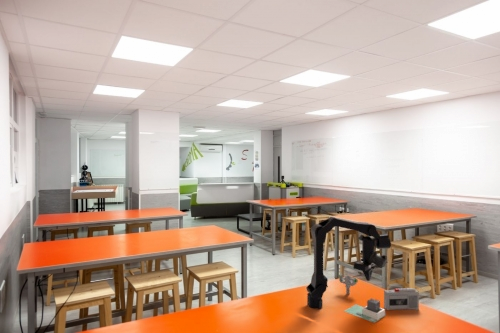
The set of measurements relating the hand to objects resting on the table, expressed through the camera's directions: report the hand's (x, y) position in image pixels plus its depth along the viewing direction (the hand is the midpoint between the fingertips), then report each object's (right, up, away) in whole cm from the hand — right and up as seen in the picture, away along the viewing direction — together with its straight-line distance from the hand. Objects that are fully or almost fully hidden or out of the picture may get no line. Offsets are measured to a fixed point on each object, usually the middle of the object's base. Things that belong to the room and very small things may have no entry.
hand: (368, 280), depth 157 cm
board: (-5, -12, -10) cm, 17 cm away
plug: (-2, -11, -12) cm, 16 cm away
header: (-2, -11, -12) cm, 16 cm away
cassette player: (+14, -12, -5) cm, 19 cm away
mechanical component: (-6, -12, +12) cm, 18 cm away
